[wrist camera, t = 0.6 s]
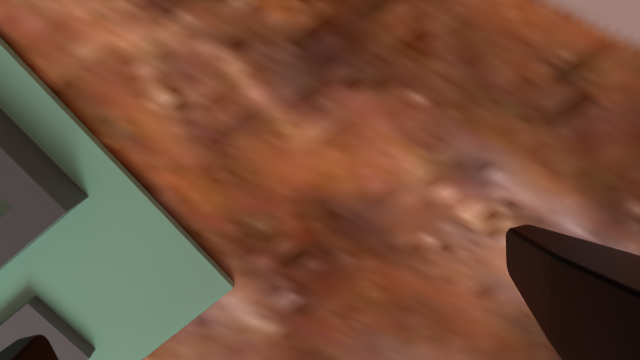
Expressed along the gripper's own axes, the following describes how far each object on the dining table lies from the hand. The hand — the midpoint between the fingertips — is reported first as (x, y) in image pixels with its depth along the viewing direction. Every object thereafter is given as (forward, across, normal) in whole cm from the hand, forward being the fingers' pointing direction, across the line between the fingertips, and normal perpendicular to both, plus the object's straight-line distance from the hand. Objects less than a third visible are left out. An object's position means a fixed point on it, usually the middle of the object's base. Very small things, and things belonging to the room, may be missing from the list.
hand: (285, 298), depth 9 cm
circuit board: (+14, +13, +3) cm, 20 cm away
